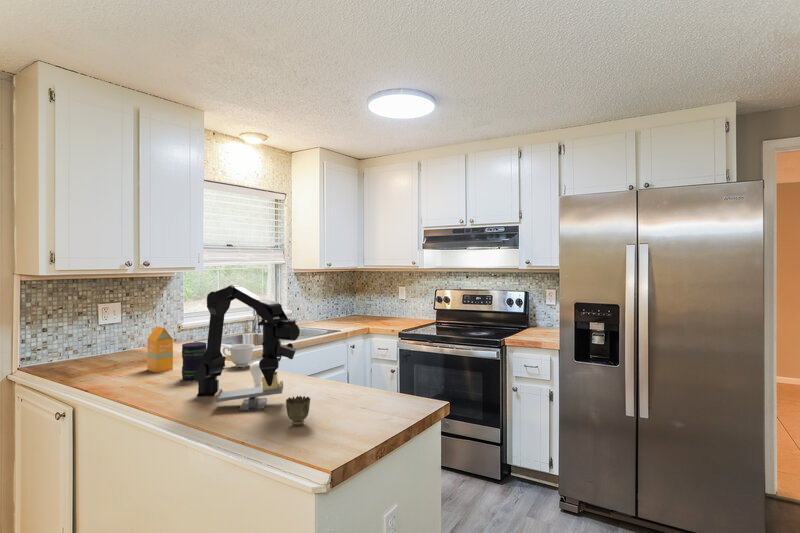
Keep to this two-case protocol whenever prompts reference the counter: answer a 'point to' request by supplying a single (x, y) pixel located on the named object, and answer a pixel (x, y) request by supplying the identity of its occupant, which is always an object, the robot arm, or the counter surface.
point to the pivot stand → (253, 404)
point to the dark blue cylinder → (192, 359)
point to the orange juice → (159, 351)
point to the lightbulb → (256, 374)
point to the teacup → (240, 354)
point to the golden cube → (274, 383)
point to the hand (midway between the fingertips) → (271, 382)
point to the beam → (245, 393)
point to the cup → (297, 409)
